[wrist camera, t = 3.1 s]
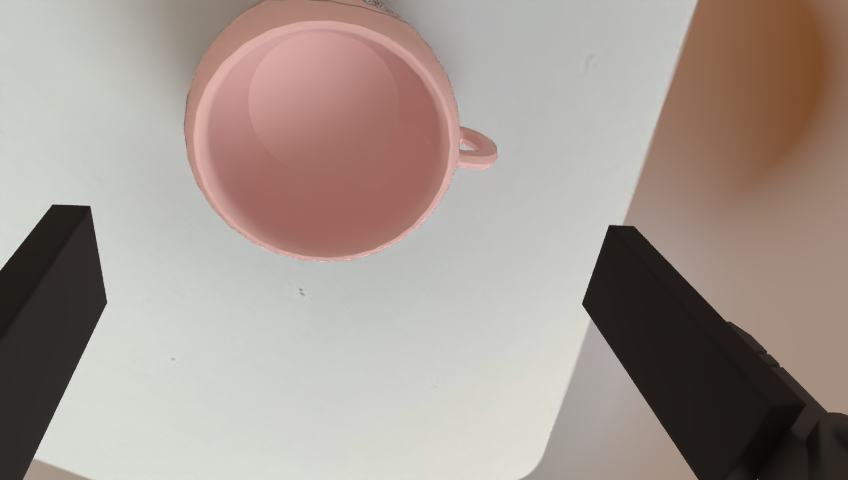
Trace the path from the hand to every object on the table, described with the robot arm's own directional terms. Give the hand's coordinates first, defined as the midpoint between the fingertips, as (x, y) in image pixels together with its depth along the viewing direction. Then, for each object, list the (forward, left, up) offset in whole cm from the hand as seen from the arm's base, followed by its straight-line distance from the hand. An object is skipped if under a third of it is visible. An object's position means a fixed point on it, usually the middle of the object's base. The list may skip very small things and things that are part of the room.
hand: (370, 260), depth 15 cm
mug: (0, 0, -13) cm, 13 cm away
